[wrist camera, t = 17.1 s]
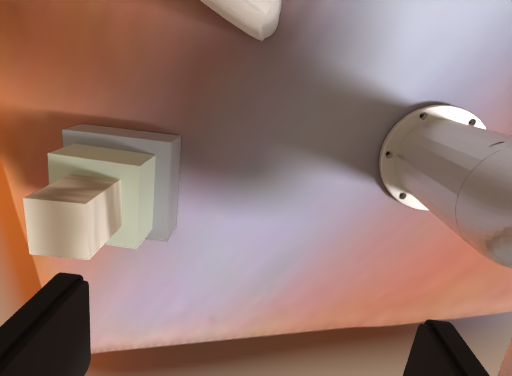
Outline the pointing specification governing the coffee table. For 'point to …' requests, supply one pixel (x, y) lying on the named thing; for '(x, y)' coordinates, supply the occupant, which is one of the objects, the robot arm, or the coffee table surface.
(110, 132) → the tower bottom block
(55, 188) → the ash block
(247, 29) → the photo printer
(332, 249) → the coffee table surface
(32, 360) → the robot arm
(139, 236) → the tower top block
